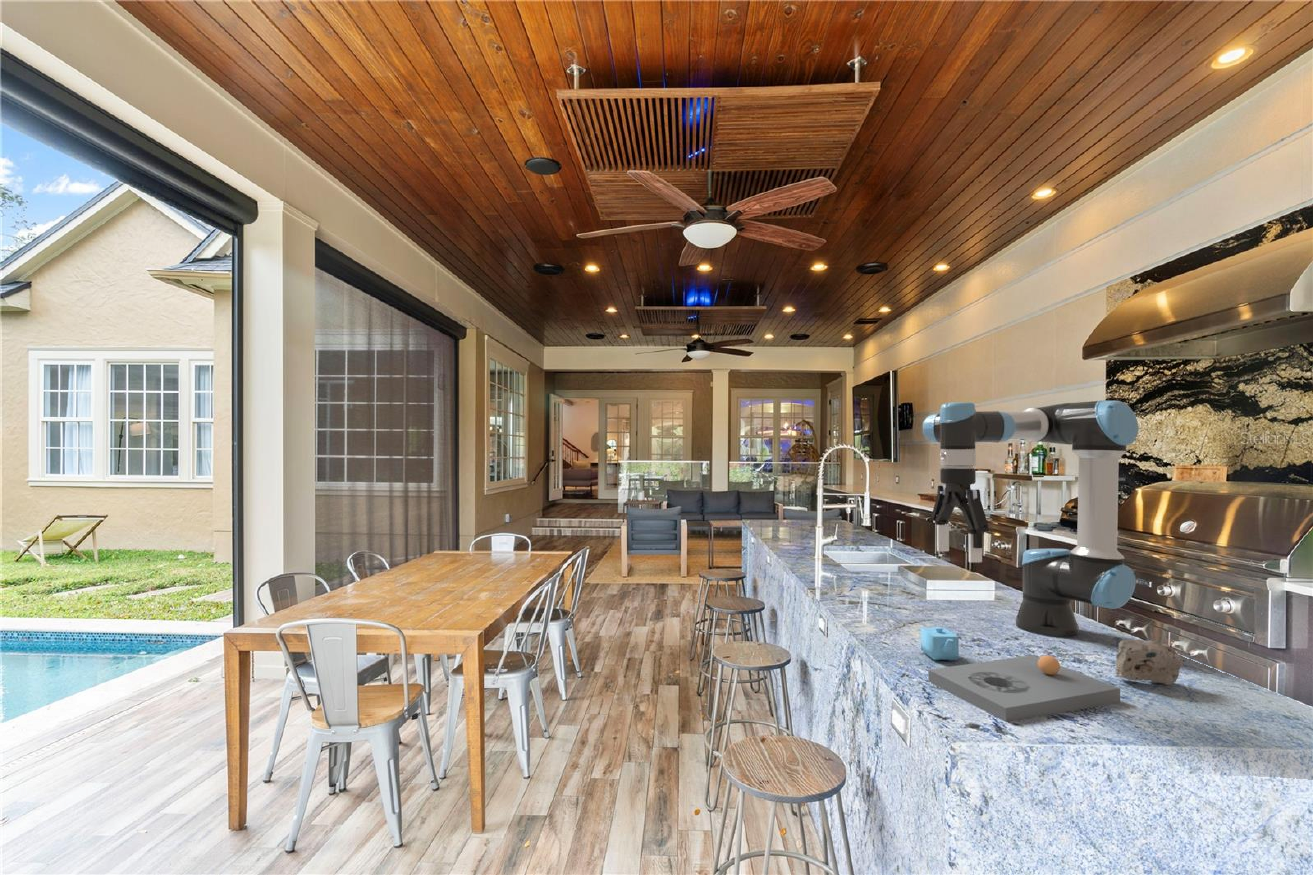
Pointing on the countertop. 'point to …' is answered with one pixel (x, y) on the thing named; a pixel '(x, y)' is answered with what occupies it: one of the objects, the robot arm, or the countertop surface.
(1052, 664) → the ball
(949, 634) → the light blue teapot
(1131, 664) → the stone
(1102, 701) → the plate
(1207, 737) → the countertop surface
